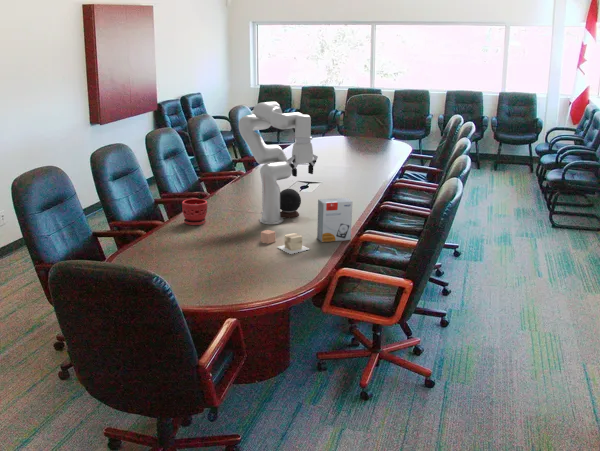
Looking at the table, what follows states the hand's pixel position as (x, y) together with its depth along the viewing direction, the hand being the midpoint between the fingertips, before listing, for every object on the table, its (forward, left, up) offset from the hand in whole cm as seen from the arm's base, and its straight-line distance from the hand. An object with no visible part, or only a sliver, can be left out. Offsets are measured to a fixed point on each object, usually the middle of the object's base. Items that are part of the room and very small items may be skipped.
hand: (302, 174), depth 323 cm
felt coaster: (+17, -17, -30) cm, 39 cm away
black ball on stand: (-30, +12, -31) cm, 44 cm away
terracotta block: (+1, -21, -30) cm, 37 cm away
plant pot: (-46, -37, -31) cm, 66 cm away
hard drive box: (+16, +8, -31) cm, 35 cm away
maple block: (+17, -17, -30) cm, 38 cm away
